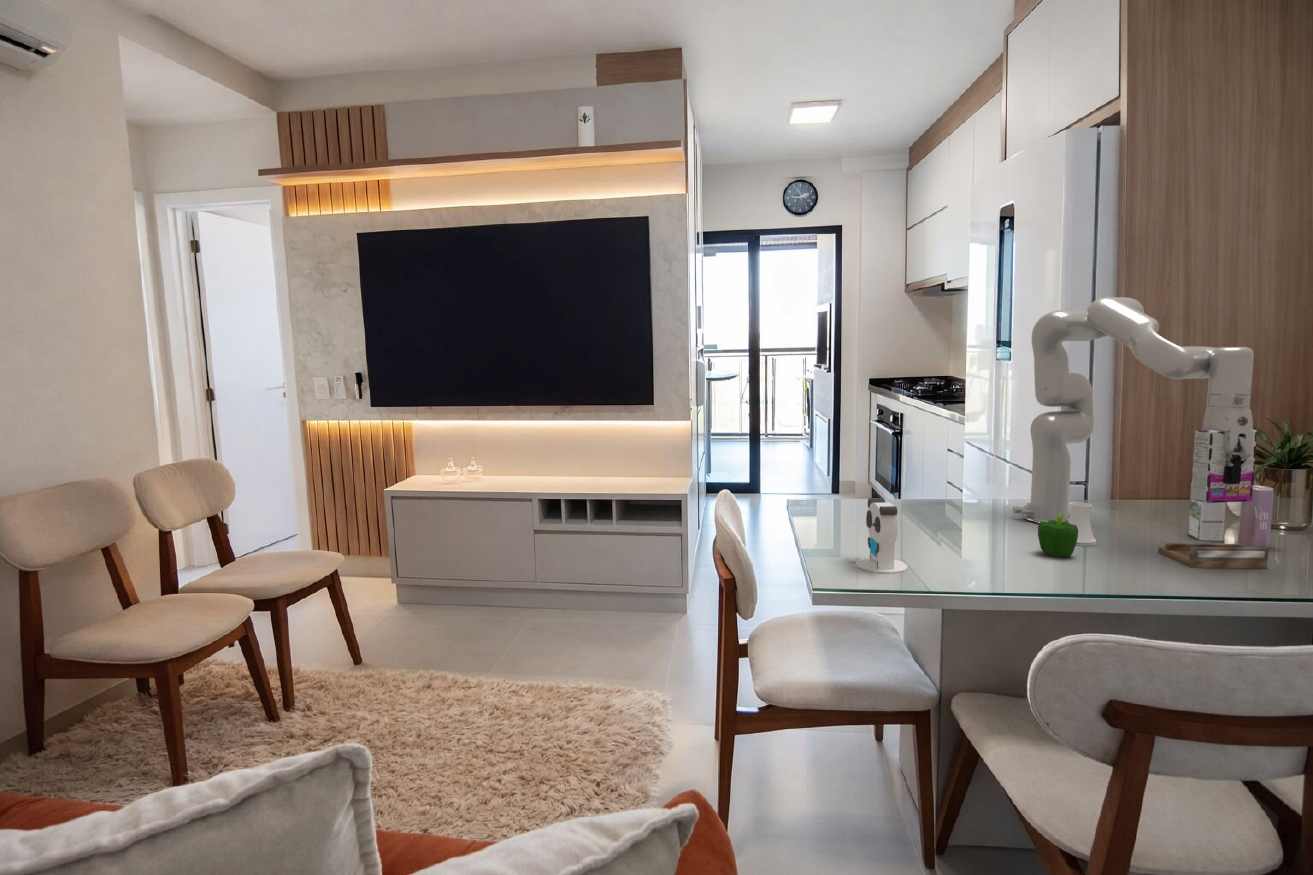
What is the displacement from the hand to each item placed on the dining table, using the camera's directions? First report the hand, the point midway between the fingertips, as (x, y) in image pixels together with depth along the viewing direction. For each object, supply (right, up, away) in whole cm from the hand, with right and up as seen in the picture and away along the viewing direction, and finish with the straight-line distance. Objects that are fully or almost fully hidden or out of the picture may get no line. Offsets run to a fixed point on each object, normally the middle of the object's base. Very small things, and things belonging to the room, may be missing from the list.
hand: (1221, 480), depth 160 cm
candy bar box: (0, -5, +1) cm, 5 cm away
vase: (-21, -17, +20) cm, 34 cm away
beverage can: (+19, -18, +14) cm, 30 cm away
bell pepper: (-32, -19, +9) cm, 39 cm away
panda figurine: (-77, -20, +3) cm, 80 cm away
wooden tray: (0, -19, +4) cm, 19 cm away
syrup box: (+14, -17, +23) cm, 31 cm away
